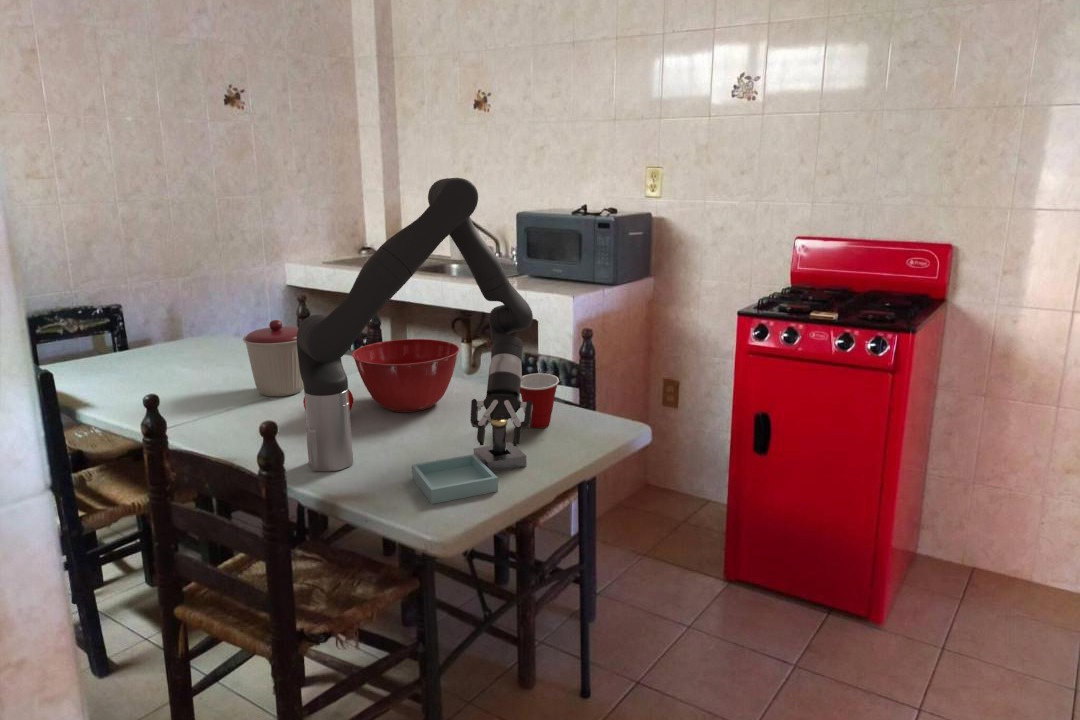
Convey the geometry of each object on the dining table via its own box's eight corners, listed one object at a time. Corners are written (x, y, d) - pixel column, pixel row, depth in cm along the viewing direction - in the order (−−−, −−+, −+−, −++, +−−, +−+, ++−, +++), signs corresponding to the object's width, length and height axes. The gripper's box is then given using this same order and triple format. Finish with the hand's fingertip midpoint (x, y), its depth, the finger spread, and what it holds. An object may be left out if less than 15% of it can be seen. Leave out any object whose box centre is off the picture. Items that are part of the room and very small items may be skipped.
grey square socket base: (488, 473, 169) (487, 462, 169) (473, 458, 177) (473, 448, 176) (526, 466, 173) (526, 455, 172) (510, 452, 181) (510, 442, 180)
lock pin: (495, 466, 173) (494, 423, 170) (489, 461, 176) (488, 418, 173) (510, 464, 174) (509, 421, 172) (504, 458, 177) (503, 416, 175)
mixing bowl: (334, 405, 214) (330, 350, 210) (417, 383, 234) (415, 332, 230) (398, 429, 196) (395, 370, 192) (482, 403, 216) (481, 348, 212)
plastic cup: (508, 427, 197) (507, 381, 194) (529, 415, 206) (529, 371, 203) (546, 434, 192) (546, 387, 189) (566, 421, 201) (566, 376, 198)
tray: (431, 503, 155) (431, 489, 154) (412, 477, 167) (411, 464, 166) (498, 491, 160) (497, 477, 159) (474, 466, 173) (474, 454, 172)
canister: (313, 380, 238) (307, 312, 232) (315, 397, 221) (309, 324, 216) (249, 385, 232) (242, 316, 227) (247, 404, 216) (239, 329, 210)
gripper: (471, 369, 178) (463, 436, 170) (534, 370, 176) (529, 438, 168) (476, 385, 184) (468, 450, 176) (537, 386, 183) (532, 452, 175)
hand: (498, 444), depth 172 cm, fingers open, 7 cm apart
